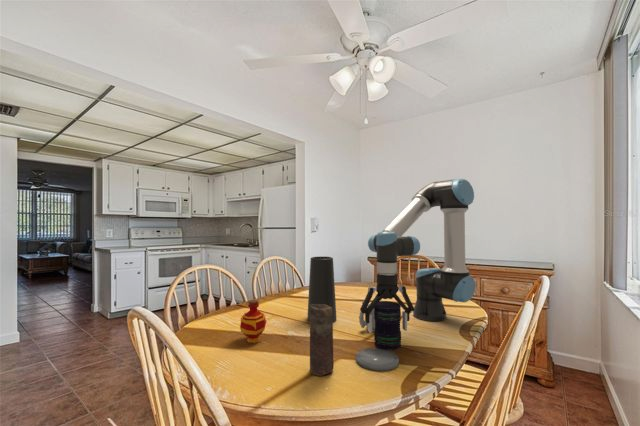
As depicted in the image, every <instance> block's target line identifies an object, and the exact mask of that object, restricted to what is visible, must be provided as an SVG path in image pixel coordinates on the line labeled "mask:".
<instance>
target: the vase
mask: <svg viewBox="0 0 640 426" xmlns="http://www.w3.org/2000/svg"><path fill="white" fill-rule="evenodd" d="M309 263H310V264H309V267H310V268H309V281H308V282H309V283H308V284H309V285H308V300H307V301H308V302H307V317H306V318H307V319H306V320H307V321H308V322H309V323H310V305H311V304H325V305H328V306H330V307H332V311H333V313H332V314H333V323H336V321H337V307H336V306H337V305H336V304H337V303H336V301H337V300H336V289H335V288H336V287H335V284H336V283H335V272H334V271H335V269H334V268H335V267H334V258H333V257H331V256H312V257H310V262H309Z"/></svg>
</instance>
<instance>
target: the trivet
mask: <svg viewBox="0 0 640 426" xmlns="http://www.w3.org/2000/svg"><path fill="white" fill-rule="evenodd" d="M355 362H356V364H357V365H358V366H359V367H361V368H363V369H366V370H369V371H374V372H389V371H392V370H395V369H396V368H397V367H399V365H400V359H399V356H398V355H397V354H396V353H394V352H392V351H389V350H384V349H379V348H377V347H376V348H375V347H374V348H365V349H361V350H359V351H357V353H356V354H355Z"/></svg>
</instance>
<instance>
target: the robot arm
mask: <svg viewBox="0 0 640 426" xmlns="http://www.w3.org/2000/svg"><path fill="white" fill-rule="evenodd" d="M474 199H475V192H474V188H473V186H472V184H471V183H470V181H468V180H467V179H465V178H454V179H447V180H440V181H433V182H430V183H429V184H427V185H426V186H423V187H422V188H421V189H420V190H419V191H418V192H416V193H415V194H414V195H413V197H411V201H410V202H409V203H408V204H407V205H406V206H405V208H404V209H402V210H401V211H400V213H398V215H397V216H396V217H395V218H394V219H393V220H392V221H390V223H389V224H388V225H387V226H385V228H384V229H383V230H382V231H380V232H378V233H377V234H374V235H371V236H370V237H369V238H368V241H367V246H368V248H369V250H370V252H374V253H376V272H377V274H376V287H375V286H371V285H370V286H369V287H368V289H367V293H366V295H365V298H364V300H363V301H362V302H363V304H362V303H361V304H362V305H361V307H360V308H359V311H360V312H362V313H364V321H366V323H368V329H367V331H368V333H369V334H370V333H371V334H372V333H373V331H372V315H371V314H370V313H371V311H372V310H373V309H374V308H375V306H376V305H377V304H378V302H380V301H382V300H388V299H389V300H393V299H394V300H395V301H396V303H398V304H400V305H401V308H402V310H401V311H402V312H401V316H402V317H401V319H402V325H401V326H402V329H403V331H405V332H408V322H409V321H410V314H411V313H412V317H414V318H416V319H419V320H423V321H426V322H442V321H445V320H447V311H446V308H445V306H444V303H443V299H445V300H449V301H453V302H455V303H456V302H459V303H467V302H469V301H470V300H471V299H472V298H473V296H474V294H475V293H476V292H475V291H476V281H475V279H474V277H472V275H471V276H470V270H469V269H468V268H467V267H466V226H465V225H466V221H465V220H466V219H465V216H466V215H465V214H466V212H467V211H468V210H469V206H470V205H472V203H474ZM434 207H439V210H440V211H441V212H442V213H443V245H444V246H443V248H444V250H443V251H444V258H443V259H444V261H443V262H444V263H443V264H444V266H443V267H442V268H440V267H432V268H431V267H430V268H420V269H418V270H416V276H415V278H416V281H415V283H416V287H415V289H416V300H415V303H414V305H413V303H412V301H411V298H409V297H410V296H409V295H408V293H407V287H406V286H404V285H402V284H401V285H400V286H399V285H398V257H408V256H409V257H411V256H415V255H418V253H419V252H420V251H421V242H420V240H419V239H418V238H417V237H415V236H411V235H410V236H409V235H407V236H403V235H405V233H406V232H407V231H408V230H409V229H410V228H411V227H412V226H413V224H415V223H416V222H417V221H418V219H419V218H420V217H421V216H422V215H423V213H426V212H428V211H430V210H431V209H432V208H434ZM398 291H399V292H400V293H401V295H402V298H403V299H404V301H405V303H404V302H403V301H402V299H401V298H400V297H399V295H398V294H397V293H398ZM375 292H377V294H376V295H375V297H374V298H373V299H372V297H373V295H374V294H375ZM371 300H372V301H371ZM369 304H370V305H369ZM368 305H369V306H368Z"/></svg>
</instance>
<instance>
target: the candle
mask: <svg viewBox="0 0 640 426" xmlns="http://www.w3.org/2000/svg"><path fill="white" fill-rule="evenodd" d="M332 313H333V311H332V307H330V306H328V305H325V304H311V305H310V322H309V370H310V371H311V374H312V375H314V376H319V377H320V376H325V375H327V374H331V373H332V372H333V371H334V366H335V364H334V359H335V358H334V335H333V334H334V333H333V332H334V328H333V327H334V322H333V314H332Z"/></svg>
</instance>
